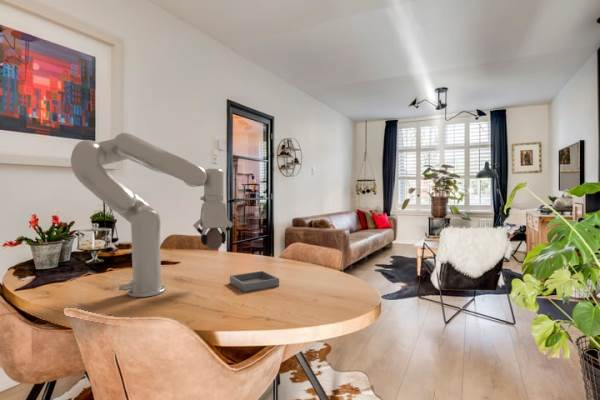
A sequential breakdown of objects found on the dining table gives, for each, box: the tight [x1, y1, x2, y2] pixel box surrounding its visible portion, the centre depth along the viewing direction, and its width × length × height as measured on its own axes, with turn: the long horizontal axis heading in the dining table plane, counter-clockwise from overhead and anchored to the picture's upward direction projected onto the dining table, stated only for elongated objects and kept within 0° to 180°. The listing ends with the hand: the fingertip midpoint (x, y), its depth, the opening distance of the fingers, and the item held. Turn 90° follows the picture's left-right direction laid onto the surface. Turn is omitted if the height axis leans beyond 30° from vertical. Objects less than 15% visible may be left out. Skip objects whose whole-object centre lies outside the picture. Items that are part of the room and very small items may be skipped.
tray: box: [229, 270, 280, 293], centre depth 132 cm, size 15×15×3 cm
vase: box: [205, 228, 223, 250], centre depth 134 cm, size 7×7×9 cm
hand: (213, 243), depth 134 cm, fingers closed on vase, 6 cm apart
